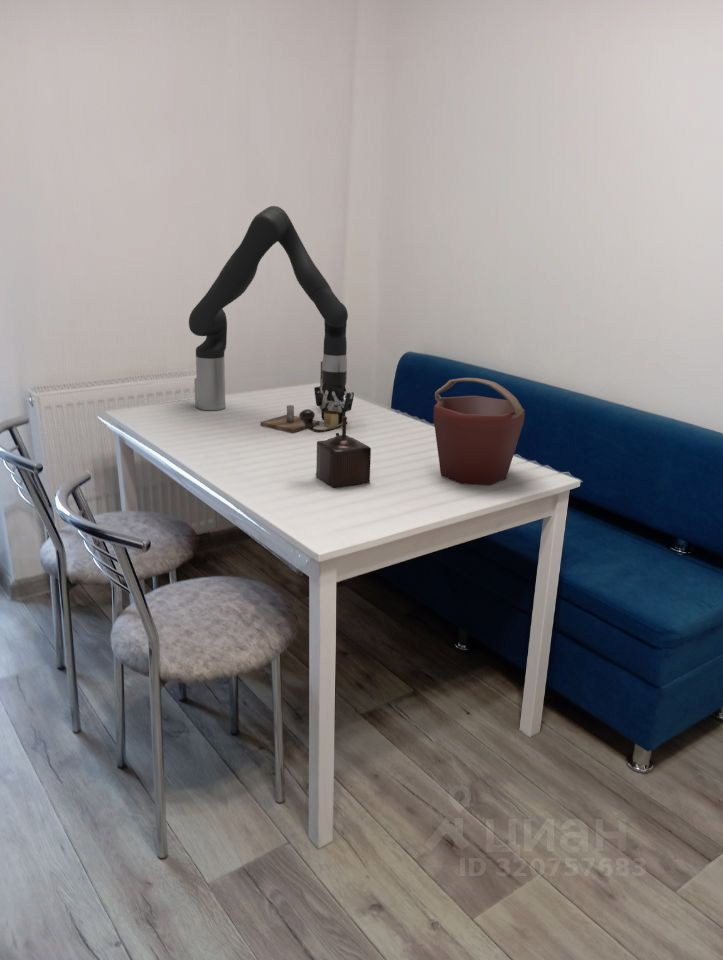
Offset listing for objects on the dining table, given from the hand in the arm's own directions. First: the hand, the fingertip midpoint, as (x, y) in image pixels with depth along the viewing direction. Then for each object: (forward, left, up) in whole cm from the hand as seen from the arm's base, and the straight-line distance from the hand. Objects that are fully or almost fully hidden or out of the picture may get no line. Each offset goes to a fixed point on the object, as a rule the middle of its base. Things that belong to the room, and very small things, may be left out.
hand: (333, 421), depth 251 cm
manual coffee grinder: (+32, -43, -1) cm, 54 cm away
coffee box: (-12, +15, -1) cm, 19 cm away
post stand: (-10, -9, -1) cm, 13 cm away
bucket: (+57, -15, -1) cm, 59 cm away
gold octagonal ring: (0, 0, -1) cm, 1 cm away
